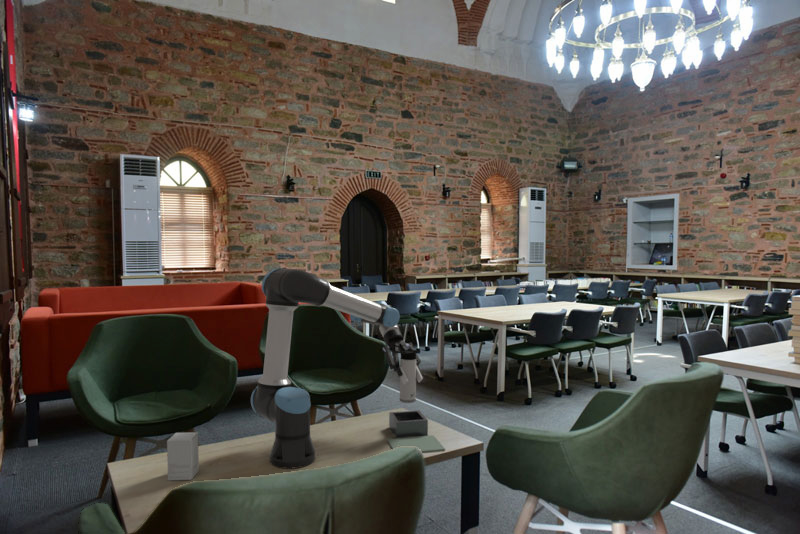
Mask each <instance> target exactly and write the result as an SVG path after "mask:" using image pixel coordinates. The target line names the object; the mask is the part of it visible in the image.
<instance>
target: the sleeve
mask: <svg viewBox="0 0 800 534" xmlns="http://www.w3.org/2000/svg"><path fill="white" fill-rule="evenodd" d="M388 414H389V416H388V417H389V418H388V421H389V424H388V425H389V427H390V428H389V427H388V428H389V429H390V431H391V433H392V434H393V436H394V437H395V438H406V437H418V436H429V434H428V433H429V431H428V428H429V426H428V425H429V420H428V419H427V418H426V416H425V415H424V414H423V413H422V412H421V410H408V411H407V410H406V411H392V412H389V413H388Z"/></svg>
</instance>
